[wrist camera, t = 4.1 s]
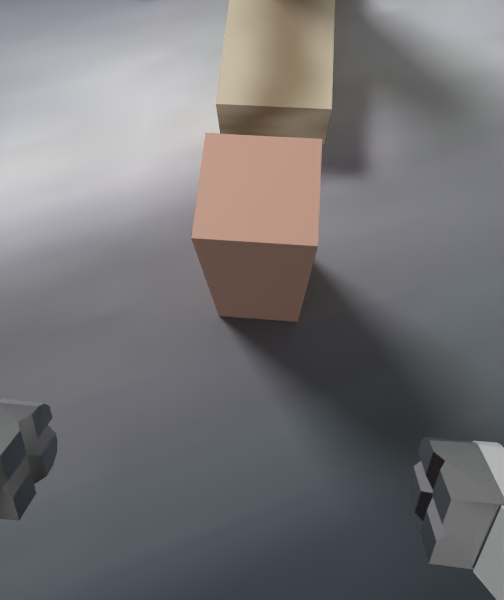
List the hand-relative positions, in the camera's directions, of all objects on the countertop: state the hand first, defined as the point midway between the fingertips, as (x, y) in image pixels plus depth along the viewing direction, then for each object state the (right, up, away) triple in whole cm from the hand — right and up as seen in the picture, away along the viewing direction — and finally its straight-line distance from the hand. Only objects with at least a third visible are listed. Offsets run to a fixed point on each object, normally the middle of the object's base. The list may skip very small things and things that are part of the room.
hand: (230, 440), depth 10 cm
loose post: (+1, +4, +13) cm, 14 cm away
